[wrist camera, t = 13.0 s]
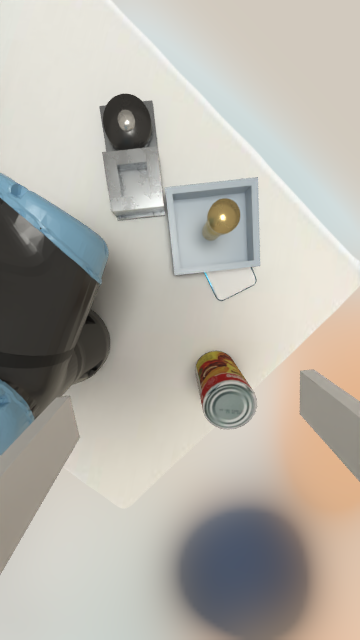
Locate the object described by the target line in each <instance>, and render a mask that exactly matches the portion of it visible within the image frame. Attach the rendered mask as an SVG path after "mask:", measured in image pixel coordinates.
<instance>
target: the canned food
mask: <svg viewBox="0 0 360 640" xmlns="http://www.w3.org/2000/svg"><path fill="white" fill-rule="evenodd" d="M195 372H196V378H197V383H198V388H199V393H200V398H201V403H202V408H203V412H204V415H205V417H206V419H207V420H208V421H209V422H210V423H211V424H213V425H214V426H216V427H218V428H221V429H236V428H238V427H241V426H243V425H245V424H246V423H247V422H249V420H251V418H252V417H253V415H254V414H255V412H256V408H257V399H256V396H255V393H254V392H253V390H252V389H251V387H250V386H249V384H248V382H247V381H246V379H245V378H244V376H243V375H242V373H241V372H240V370H239V369H238V367H237V366H236V364H235V363H234V361H233V360H232V358H231V357H230V356H229V355H227V354H226V353H224V352H221V351H211V352H208V353H206V354H204V355H203V356H201V358H200V359H199V360H198V362H197V364H196V368H195Z"/></svg>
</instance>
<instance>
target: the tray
mask: <svg viewBox="0 0 360 640" xmlns="http://www.w3.org/2000/svg"><path fill="white" fill-rule="evenodd" d="M165 192H166V201H167V210H168V219H169V228H170V238H171V247H172V256H173V265H174V274H175V275H182V274H191V273H201V272H210V271H219V270H228V269H237V268H246V267H256V266H260V239H259V202H258V177H255V178H246V179H237V180H228V181H219V182H210V183H200V184H191V185H182V186H173V187H165ZM222 198H228V199H231V200H233V201H234V202H235V203H236V204H237V205H238V207H239V209H240V221H239V223H238V225H237V227H236V228H235V229H234V230H232V231H231V232H229V233H227V234H224V235H220V236H219V237H218V238H217V239H215V240H213V241H209V240H206V239H205V238H204V237H203V234H202V229H203V227H204V225H205V223H206V222H207V214H208V211H209V209H210V207H211V206H212V204H213V203H214V202H215V201H217V200H219V199H222Z"/></svg>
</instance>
